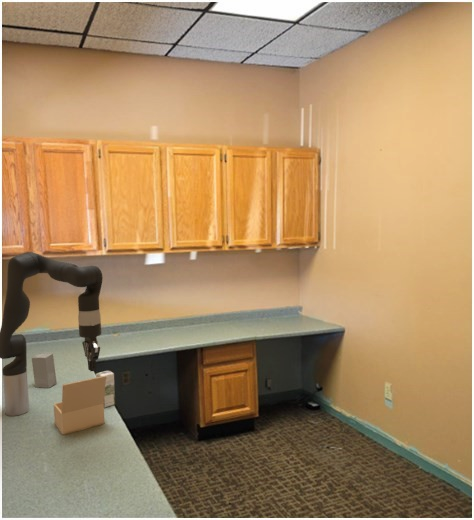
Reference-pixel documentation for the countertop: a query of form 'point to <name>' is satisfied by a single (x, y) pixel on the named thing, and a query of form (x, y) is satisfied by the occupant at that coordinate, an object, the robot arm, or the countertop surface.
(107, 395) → the syrup box
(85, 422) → the carton
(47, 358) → the skincare box
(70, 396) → the lid
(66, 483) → the countertop surface
